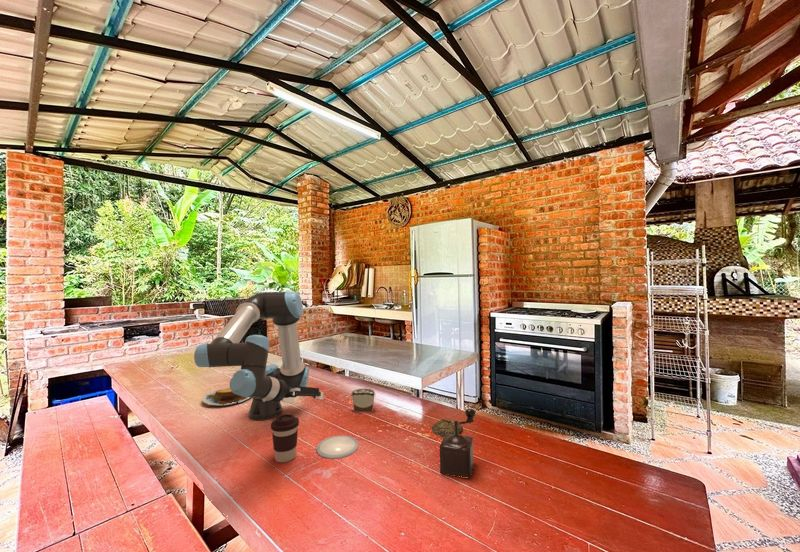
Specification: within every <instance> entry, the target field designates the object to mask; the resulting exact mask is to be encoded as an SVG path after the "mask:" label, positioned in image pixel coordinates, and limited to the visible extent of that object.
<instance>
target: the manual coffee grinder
mask: <svg viewBox="0 0 800 552" xmlns="http://www.w3.org/2000/svg"><path fill="white" fill-rule="evenodd" d="M464 414H465V416H466V419H465V421H458V420H455V421H454V423H455V424H454V427H455V434H446V433H445V436H444V438H442V440H441V443H440V445H439V473H444V474H449V475H455V476H460V477H461V476H462V477H468V478H470V477H471V478H472V476H471V474H472V475H473V473H472V471H473V472H474V471H475V466H473V465H475V463H474V437H473V436H471V435H470V436H468V435H462V434H460V433H459V434H458V426H459V425H465V424H472V423H474V422H475V421H474V418H475V416H476V414H477V412H476V411H475V410H474V408H466V409H465V411H464ZM444 474H443V475H444ZM449 475H448V476H449Z"/></svg>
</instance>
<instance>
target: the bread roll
mask: <svg viewBox="0 0 800 552" xmlns="http://www.w3.org/2000/svg"><path fill="white" fill-rule="evenodd" d="M454 421H455V420H453V419H449V418H442V419H439V420H437V421H436V422H435V423H434V424H433V425H432V426H431V430H432V433H433V434H434V433H435V434H434V435H436V434H437V436H439V435H440V436H439V437H441V436H442V437H444V436H445V433H446V434H455V427H454V424H455V423H454ZM461 432H463V426H462V424H460V425H459V426H458V434H459V435H460V433H461ZM442 437H441V438H442Z"/></svg>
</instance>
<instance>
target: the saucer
mask: <svg viewBox="0 0 800 552" xmlns="http://www.w3.org/2000/svg"><path fill="white" fill-rule="evenodd" d="M358 448H359V442H358V440H357V439H356V438H354V437H352V436H349V435H334V436H329V437H327V438H324V439H322V440H321V441H320V442H318V444H317V445H316V453H317V455H318V456H320V457H322V458H324V459H331V460H335V459H342V458H346V457H348V456H351V455H353V454H354V453H355V452H356V451H357V450H358Z"/></svg>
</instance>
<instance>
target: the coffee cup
mask: <svg viewBox="0 0 800 552" xmlns="http://www.w3.org/2000/svg"><path fill="white" fill-rule="evenodd" d="M299 425H300V419H299V418H298V417H296V416H295V415H294V414H292V413H285V414H280V415H278V416H276V417H275V419H274V420H272V421H271V423H270V429H271V431H272V434H271V435H272V445H273V450H274V452H273V453H274V459H275V462H278V463H288V462H291V461H292V460H293V459H295V457H296V455H297V454H296V453H297V445H298V431H299V429H298V427H299Z"/></svg>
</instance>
